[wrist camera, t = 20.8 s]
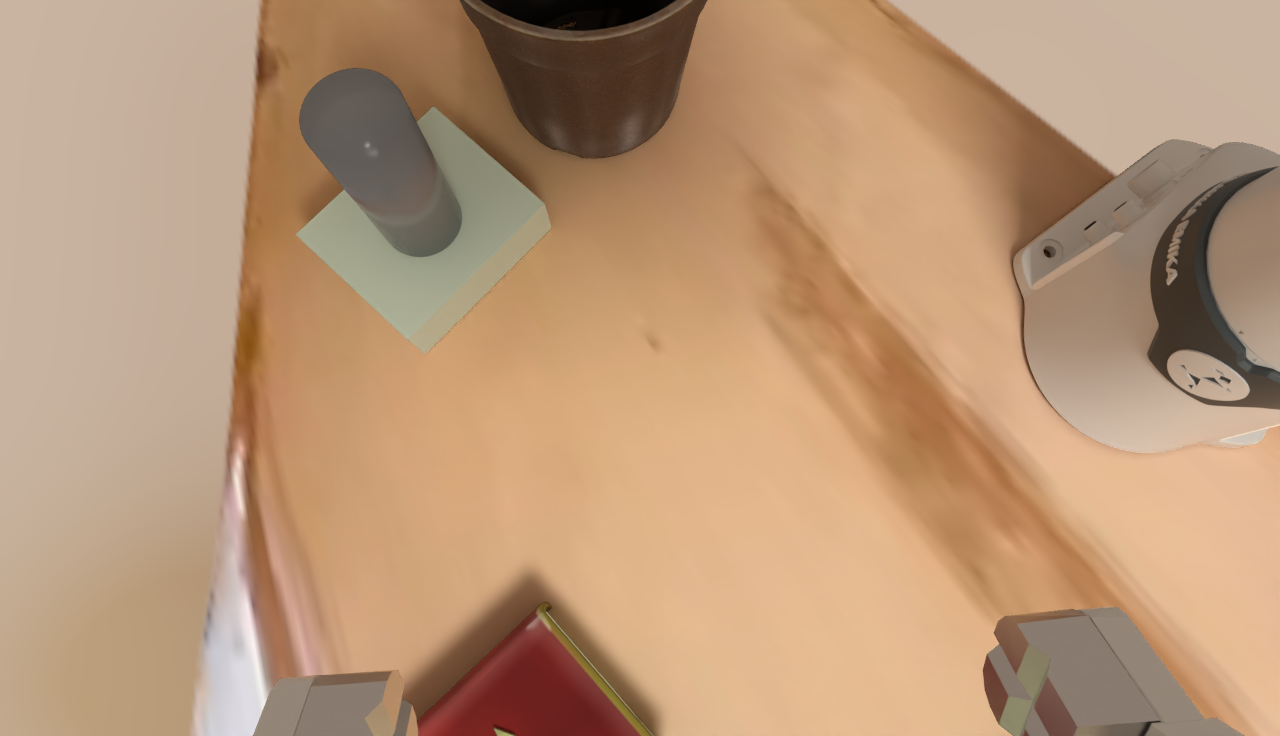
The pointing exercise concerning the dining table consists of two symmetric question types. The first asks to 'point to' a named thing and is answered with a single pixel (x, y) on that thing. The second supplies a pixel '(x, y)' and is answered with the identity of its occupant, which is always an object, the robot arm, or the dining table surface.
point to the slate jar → (381, 159)
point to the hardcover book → (533, 691)
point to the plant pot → (589, 66)
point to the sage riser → (452, 279)
